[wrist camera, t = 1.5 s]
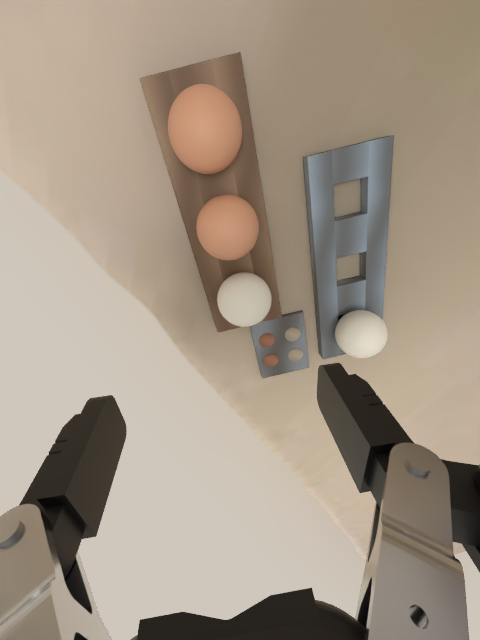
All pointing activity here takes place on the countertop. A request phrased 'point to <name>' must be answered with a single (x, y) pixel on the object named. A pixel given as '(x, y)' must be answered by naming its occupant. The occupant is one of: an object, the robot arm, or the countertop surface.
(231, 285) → the cream ball
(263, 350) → the racks
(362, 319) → the cream ball
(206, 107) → the terracotta ball
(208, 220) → the terracotta ball
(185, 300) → the countertop surface
